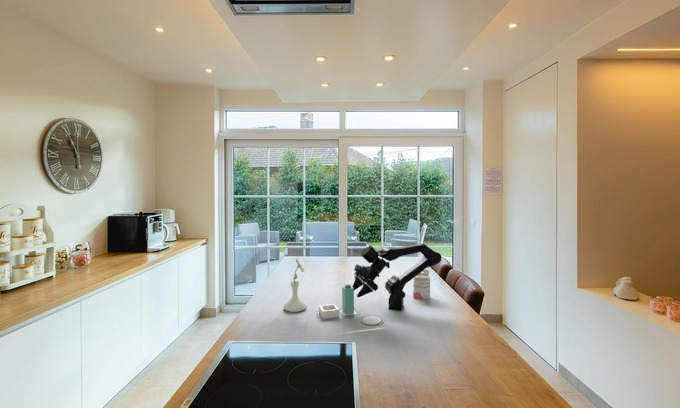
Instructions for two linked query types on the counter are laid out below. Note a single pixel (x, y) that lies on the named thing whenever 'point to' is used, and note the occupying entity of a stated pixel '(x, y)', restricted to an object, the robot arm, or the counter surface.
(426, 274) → the ink cartridge box
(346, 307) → the plug
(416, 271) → the robot arm
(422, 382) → the counter surface
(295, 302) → the flower in vase
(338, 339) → the counter surface
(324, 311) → the grey board with socket
